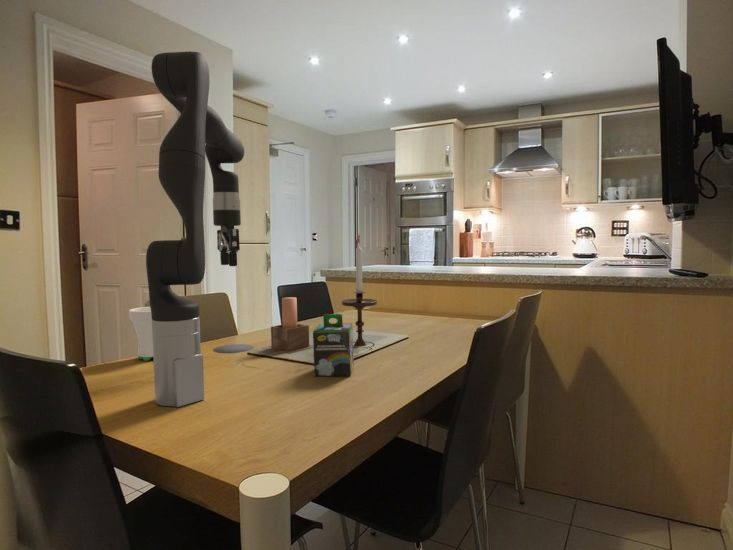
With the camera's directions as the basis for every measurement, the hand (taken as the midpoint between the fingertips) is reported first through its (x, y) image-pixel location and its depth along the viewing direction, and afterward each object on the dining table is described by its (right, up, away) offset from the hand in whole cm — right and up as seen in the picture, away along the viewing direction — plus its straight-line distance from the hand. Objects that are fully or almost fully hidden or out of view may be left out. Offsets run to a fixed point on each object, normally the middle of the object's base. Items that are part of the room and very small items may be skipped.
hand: (228, 265), depth 137 cm
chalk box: (+32, -27, -18) cm, 46 cm away
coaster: (0, -26, +6) cm, 26 cm away
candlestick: (+38, -25, +9) cm, 46 cm away
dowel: (+17, -25, +7) cm, 31 cm away
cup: (-21, -27, -1) cm, 34 cm away
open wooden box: (+17, -25, +7) cm, 31 cm away
